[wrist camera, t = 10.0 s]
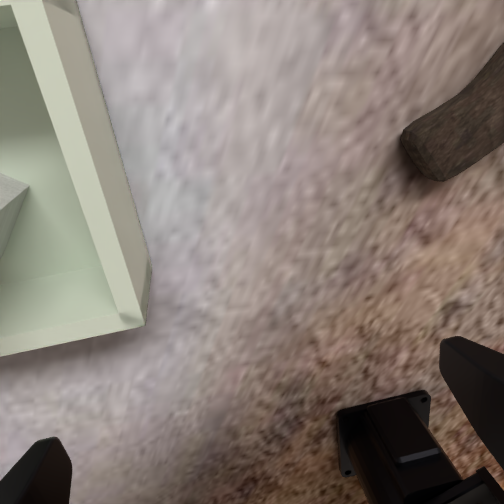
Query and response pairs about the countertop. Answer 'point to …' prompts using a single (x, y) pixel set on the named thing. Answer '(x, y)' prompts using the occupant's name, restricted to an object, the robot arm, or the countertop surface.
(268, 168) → the countertop surface
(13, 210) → the tea bag
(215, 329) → the countertop surface
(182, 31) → the countertop surface
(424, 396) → the robot arm
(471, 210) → the countertop surface
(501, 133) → the cleaver
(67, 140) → the box
